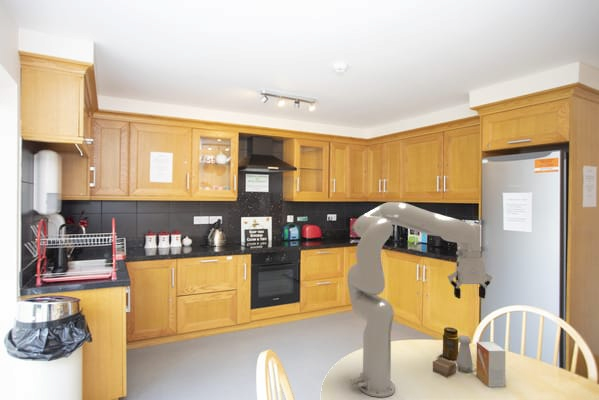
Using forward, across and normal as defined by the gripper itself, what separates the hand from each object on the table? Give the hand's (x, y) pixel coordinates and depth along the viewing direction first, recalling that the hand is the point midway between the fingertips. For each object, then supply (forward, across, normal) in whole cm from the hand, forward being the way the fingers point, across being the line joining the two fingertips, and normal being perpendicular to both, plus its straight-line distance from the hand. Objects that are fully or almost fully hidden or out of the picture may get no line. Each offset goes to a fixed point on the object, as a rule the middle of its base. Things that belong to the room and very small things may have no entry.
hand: (469, 297), depth 136 cm
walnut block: (+28, -11, -3) cm, 30 cm away
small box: (+28, +3, -10) cm, 30 cm away
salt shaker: (+28, -2, -1) cm, 28 cm away
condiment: (+28, -4, +9) cm, 30 cm away
